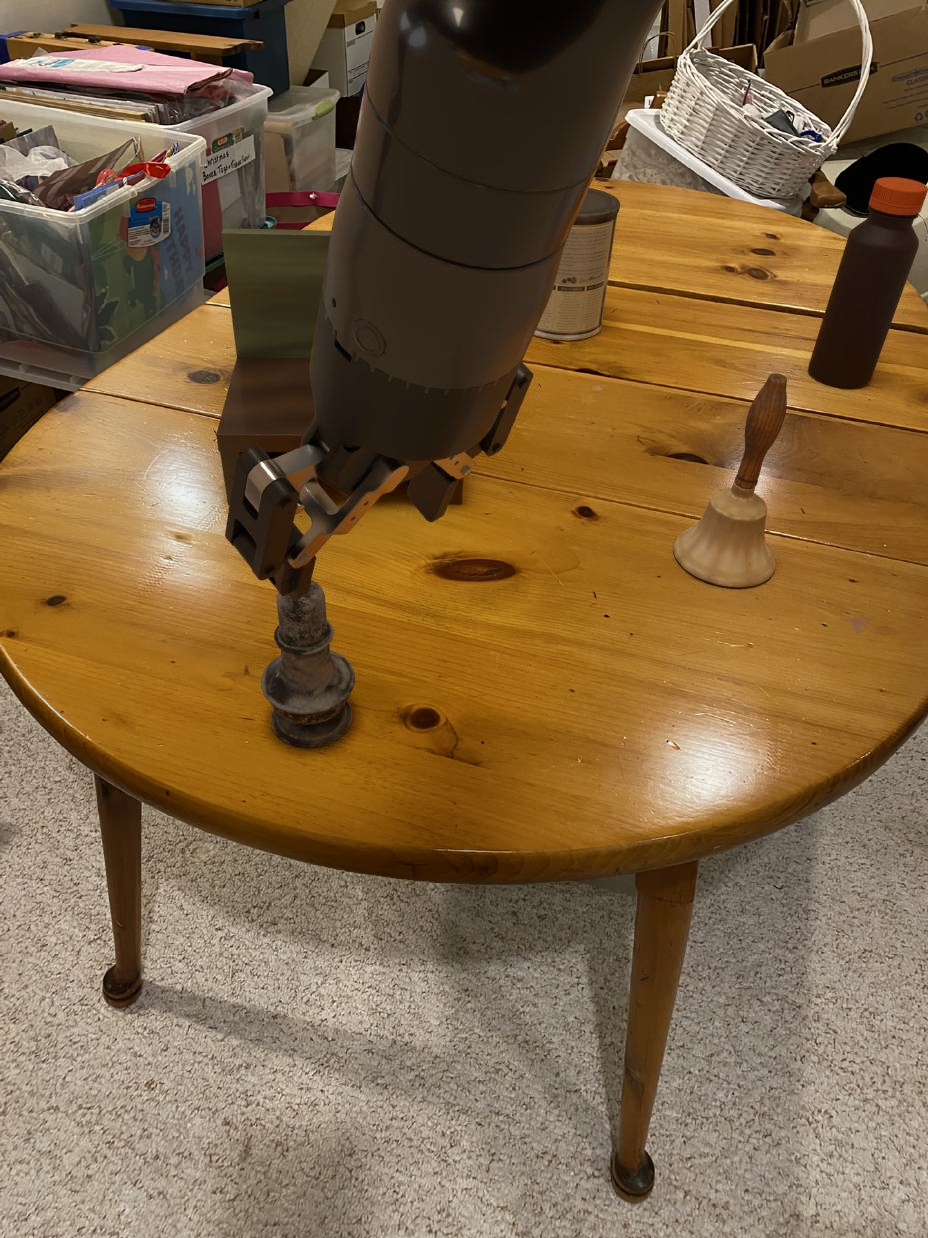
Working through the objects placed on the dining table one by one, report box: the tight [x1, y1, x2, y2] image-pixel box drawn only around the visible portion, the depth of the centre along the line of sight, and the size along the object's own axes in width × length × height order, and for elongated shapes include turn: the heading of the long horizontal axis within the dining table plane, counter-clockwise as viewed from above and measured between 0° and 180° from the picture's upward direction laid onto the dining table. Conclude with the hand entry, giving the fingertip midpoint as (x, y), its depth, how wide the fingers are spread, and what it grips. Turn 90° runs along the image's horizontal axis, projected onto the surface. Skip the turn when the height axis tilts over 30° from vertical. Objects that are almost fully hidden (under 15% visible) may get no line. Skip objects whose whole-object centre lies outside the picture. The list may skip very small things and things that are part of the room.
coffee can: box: [533, 187, 621, 342], centre depth 105 cm, size 10×10×14 cm
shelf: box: [215, 227, 464, 505], centre depth 79 cm, size 15×20×18 cm
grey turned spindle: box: [260, 579, 356, 749], centre depth 56 cm, size 6×6×12 cm
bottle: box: [807, 176, 928, 389], centre depth 96 cm, size 7×7×20 cm
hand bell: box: [672, 372, 788, 588], centre depth 71 cm, size 8×8×16 cm
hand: (358, 544), depth 46 cm, fingers open, 8 cm apart
